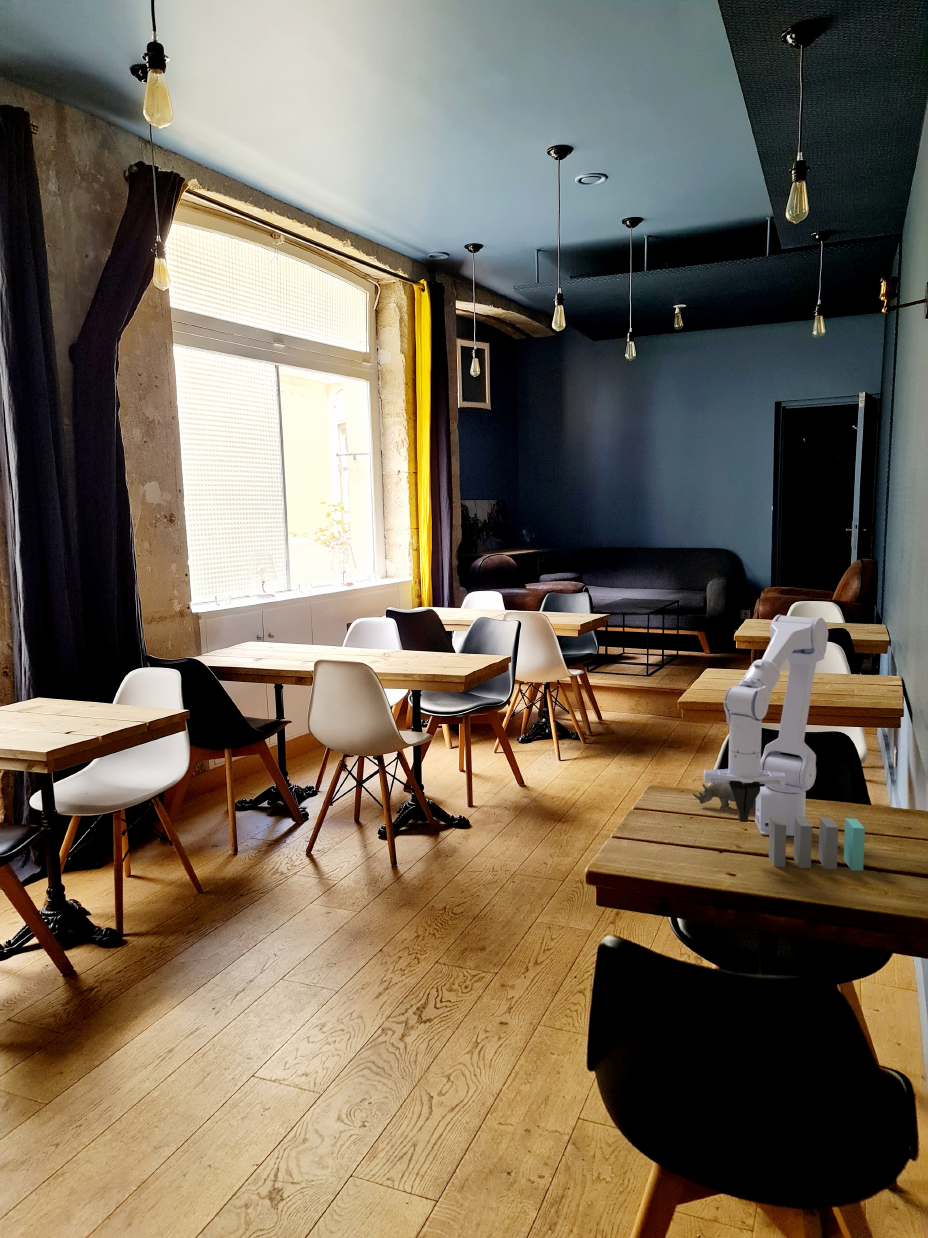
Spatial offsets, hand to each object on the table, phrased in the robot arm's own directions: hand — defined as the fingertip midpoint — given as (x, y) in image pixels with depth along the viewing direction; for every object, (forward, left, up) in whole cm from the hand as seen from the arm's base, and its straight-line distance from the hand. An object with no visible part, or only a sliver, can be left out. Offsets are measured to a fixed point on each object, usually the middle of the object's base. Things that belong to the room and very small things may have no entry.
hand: (742, 820), depth 161 cm
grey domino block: (+15, -1, -7) cm, 17 cm away
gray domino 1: (+6, -1, -7) cm, 10 cm away
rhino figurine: (+1, +28, -8) cm, 29 cm away
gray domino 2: (+11, -1, -7) cm, 13 cm away
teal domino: (+20, -1, -7) cm, 21 cm away
